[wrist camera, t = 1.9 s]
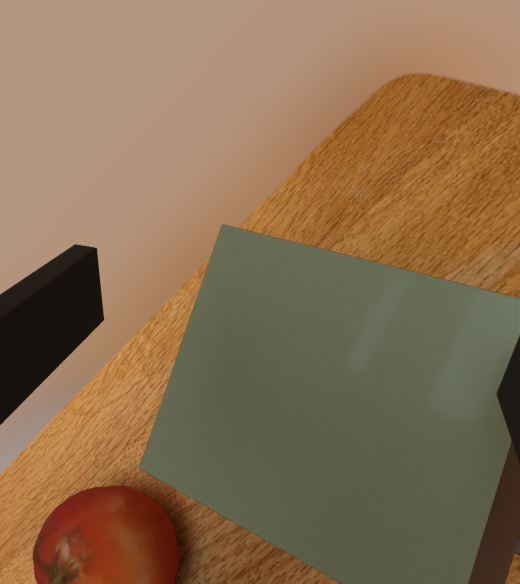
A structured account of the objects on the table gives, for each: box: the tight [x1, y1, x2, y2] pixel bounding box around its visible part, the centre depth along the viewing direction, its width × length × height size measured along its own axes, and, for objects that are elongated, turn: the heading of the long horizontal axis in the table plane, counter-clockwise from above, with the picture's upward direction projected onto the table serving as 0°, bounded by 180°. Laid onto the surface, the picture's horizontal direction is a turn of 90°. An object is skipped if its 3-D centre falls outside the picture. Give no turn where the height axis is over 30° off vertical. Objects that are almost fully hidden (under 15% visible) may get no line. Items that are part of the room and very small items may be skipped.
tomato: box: [33, 486, 180, 584], centre depth 31 cm, size 9×9×8 cm
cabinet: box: [139, 225, 520, 584], centre depth 25 cm, size 15×13×11 cm
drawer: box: [468, 441, 520, 584], centre depth 24 cm, size 19×12×9 cm, turn 70°
